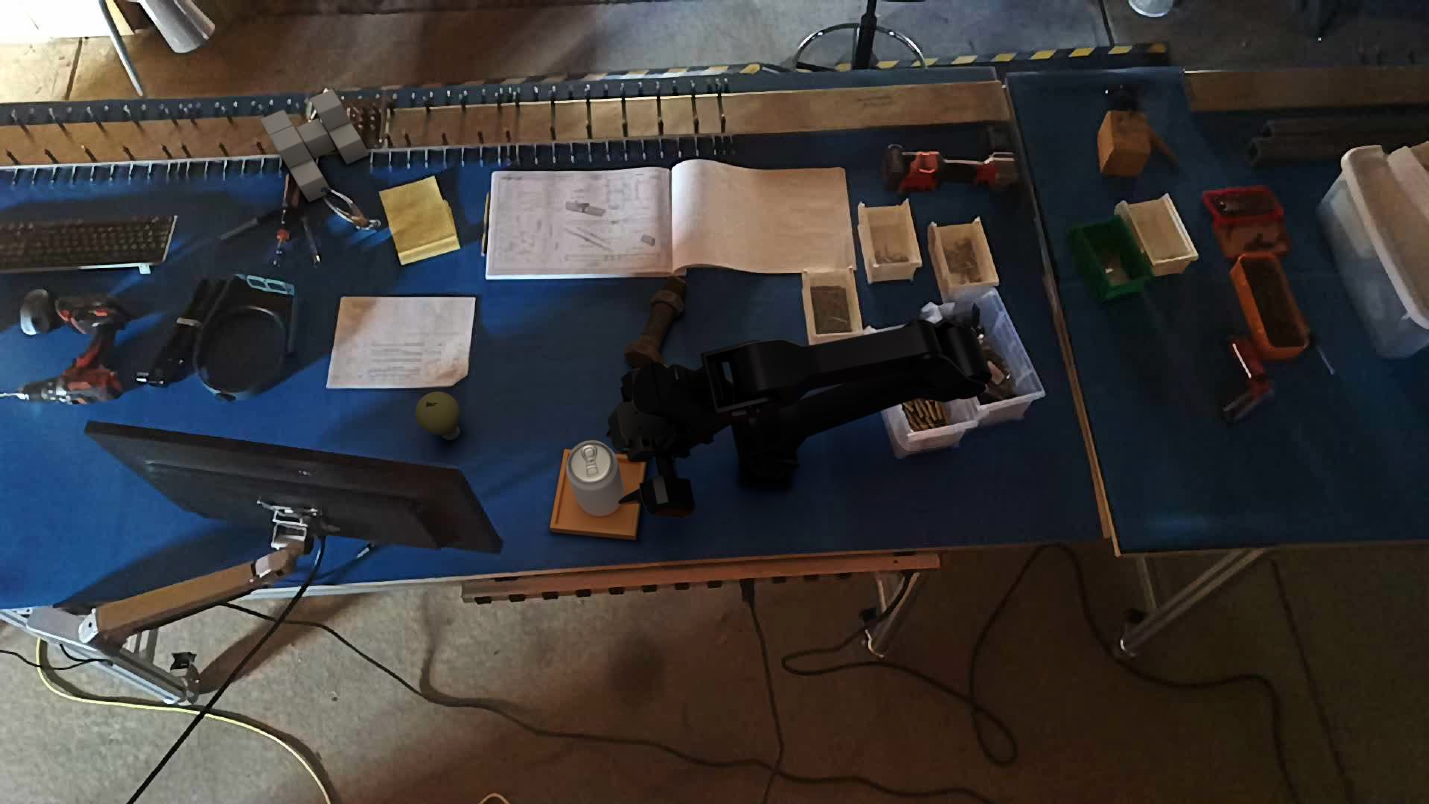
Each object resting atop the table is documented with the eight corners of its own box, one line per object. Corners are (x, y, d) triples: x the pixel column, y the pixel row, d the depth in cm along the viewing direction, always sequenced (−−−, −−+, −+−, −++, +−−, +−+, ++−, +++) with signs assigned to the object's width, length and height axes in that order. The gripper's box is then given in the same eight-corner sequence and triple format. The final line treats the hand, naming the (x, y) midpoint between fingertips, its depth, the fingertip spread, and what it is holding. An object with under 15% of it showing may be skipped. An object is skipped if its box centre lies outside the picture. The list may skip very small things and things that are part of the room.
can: (620, 468, 117) (612, 432, 106) (629, 512, 114) (620, 480, 103) (573, 477, 116) (560, 442, 105) (580, 522, 113) (567, 490, 103)
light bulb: (439, 459, 118) (417, 429, 109) (426, 426, 120) (403, 394, 111) (478, 442, 119) (459, 411, 110) (464, 410, 121) (444, 377, 112)
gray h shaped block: (309, 202, 137) (287, 168, 130) (282, 154, 141) (259, 118, 134) (379, 171, 140) (361, 136, 133) (350, 124, 144) (332, 88, 137)
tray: (646, 462, 118) (646, 456, 116) (635, 540, 113) (634, 535, 111) (566, 454, 118) (564, 448, 116) (552, 532, 113) (549, 527, 112)
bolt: (682, 296, 132) (647, 376, 125) (655, 279, 130) (618, 358, 123) (700, 282, 127) (664, 364, 120) (672, 264, 125) (634, 346, 119)
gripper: (632, 332, 98) (552, 393, 107) (663, 481, 90) (574, 535, 99) (700, 352, 106) (620, 408, 114) (734, 492, 98) (646, 540, 107)
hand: (614, 469), depth 108 cm, fingers open, 9 cm apart
